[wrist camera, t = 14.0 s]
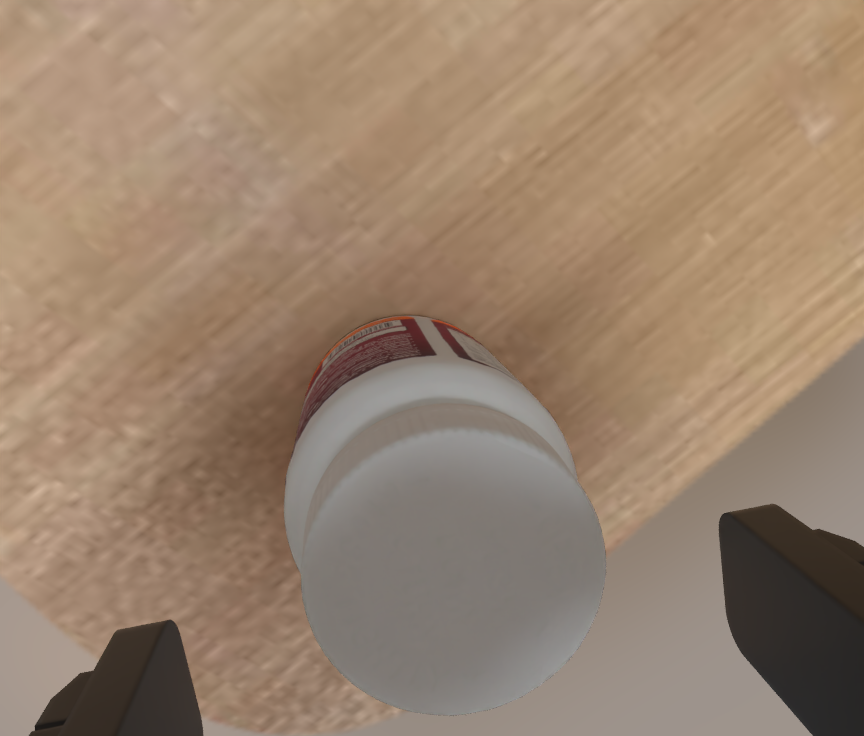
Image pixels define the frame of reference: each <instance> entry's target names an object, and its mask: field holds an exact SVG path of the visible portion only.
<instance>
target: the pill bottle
mask: <svg viewBox="0 0 864 736" xmlns="http://www.w3.org/2000/svg"><path fill="white" fill-rule="evenodd" d="M284 519H285V527H286V534H287V539H288V543H289V546H290V549H291V552H292V555H293V558H294V561H295V563H296V565H297V567H298V569H299V571H300V574H301V590H302V598H303V603H304V608H305V612H306V615H307V618H308V621H309V623H310V626H311V628H312V631H313V634H314V636H315V638H316V640H317V642H318V644H319V645H320V647H321V649H322V650H323V652H324V654H325V655H326V656H327V657H328V659H329V660H330V662H331V663H332V664H333V665H334V666H335V667H336V668H337V670H338V671H339V672H340V673H341V674H342V675H343V676H344V677H345V678H346V679H348V680H349V681H350V682H351V683H352V684H353V685H355V686H356V687H357V688H359V689H360V690H362V691H363V692H365V693H367V694H368V695H370V696H372V697H374V698H375V699H377V700H379V701H381V702H384V703H386V704H388V705H391V706H394V707H396V708H399V709H403V710H407V711H411V712H415V713H422V714H430V715H450V716H452V715H453V716H454V715H464V714H471V713H476V712H480V711H486V710H490V709H494V708H497V707H499V706H502V705H504V704H507V703H509V702H511V701H513V700H516V699H518V698H521V697H523V696H524V695H526V694H527V693H529V692H530V691H532V690H534V689H535V688H537V687H538V686H540V685H541V684H542V683H544V682H545V681H547V680H548V679H549V678H551V677H552V676H553V675H554V674H555V673H556V672H557V671H558V670H559V669H561V668H562V667H563V666H564V665H565V664H566V663H567V661H568V660H569V659H570V658H571V657H572V655H573V654H574V653H575V652H576V650H577V649H578V648H579V646H580V645H581V643H582V641H583V640H584V638H585V636H586V635H587V633H588V631H589V629H590V627H591V625H592V623H593V621H594V618H595V616H596V614H597V611H598V608H599V605H600V602H601V598H602V593H603V589H604V583H605V576H606V554H605V546H604V540H603V535H602V530H601V527H600V523H599V520H598V517H597V514H596V512H595V510H594V508H593V505H592V504H591V502H590V500H589V498H588V497H587V495H586V493H585V491H584V490H583V488H582V487H581V485H580V484H579V482H578V479H577V473H576V469H575V464H574V461H573V458H572V454H571V452H570V449H569V447H568V444H567V442H566V440H565V437H564V435H563V434H562V432H561V430H560V429H559V427H558V425H557V424H556V422H555V420H554V419H553V417H552V416H551V414H550V412H549V411H548V410H547V409H546V408H545V407H544V406H543V405H542V404H541V403H540V402H539V401H538V400H537V399H536V398H535V397H534V395H533V394H532V393H531V392H530V391H529V390H528V389H527V388H526V387H525V386H524V385H523V384H522V383H521V382H520V381H519V380H517V379H516V378H515V377H514V376H513V375H512V374H511V373H510V372H509V371H508V370H507V369H506V368H505V367H504V366H503V365H502V364H501V363H500V362H499V361H498V360H497V359H496V358H495V357H494V356H493V355H492V354H491V353H490V352H489V351H488V350H487V349H486V348H485V347H484V346H483V345H481V344H480V343H479V342H478V341H476V340H475V339H474V338H473V337H471V336H470V335H468V334H467V333H465V332H464V331H462V330H460V329H459V328H457V327H455V326H453V325H451V324H448V323H446V322H443V321H440V320H437V319H433V318H428V317H422V316H412V315H409V316H393V317H387V318H383V319H380V320H376V321H373V322H370V323H368V324H366V325H363V326H361V327H359V328H358V329H356V330H354V331H352V332H351V333H349V334H348V335H346V336H345V337H344V338H342V339H341V340H340V341H339V342H338V343H337V344H335V346H334V347H333V348H332V349H331V350H330V351H329V352H328V353H327V354H326V356H325V357H324V358H323V360H322V361H321V362H320V364H319V366H318V367H317V369H316V371H315V373H314V375H313V377H312V379H311V381H310V383H309V386H308V389H307V392H306V395H305V400H304V404H303V408H302V412H301V416H300V421H299V426H298V430H297V436H296V440H295V444H294V448H293V452H292V455H291V460H290V463H289V467H288V471H287V474H286V481H285V496H284Z"/></svg>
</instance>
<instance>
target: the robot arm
mask: <svg viewBox="0 0 864 736" xmlns="http://www.w3.org/2000/svg"><path fill="white" fill-rule="evenodd" d="M719 538H720V550H721V562H722V572H723V584H724V595H725V607H726V615H727V620H728V623H729V627H730V630H731V633H732V636H733V638H734V640H735V642H736V644H737V646H738V648H739V650H740V651H741V653H742V654H743V655H744V657H745V658H746V659H747V660H748V661H749V662H750V664H751V665H752V666H753V667H754V668H755V669H756V670H757V672H758V673H759V674H760V675H761V676H762V677H763V679H764V680H765V681H766V682H767V683H768V684H769V685H770V687H771V688H772V689H773V690H774V691H775V692H776V694H777V695H778V696H779V697H780V698H781V699H782V700H783V702H784V703H785V704H786V705H787V706H788V707H789V708H790V709H791V711H792V712H793V713H794V714H795V715H796V717H797V718H798V719H799V720H800V721H801V722H802V723H803V725H804V726H805V727H806V728H807V729H808V730H809V732H810V733H811V734H812V735H813V736H864V547H863V546H861V545H859V544H858V543H857V542H855V541H853V540H850V539H847V538H844V537H841V536H838V535H835V534H832V533H829V532H826V531H823V530H820V529H817V530H812V529H810V528H809V527H808V526H806V525H805V524H803V523H802V522H800V521H799V520H798V519H796V518H795V517H793V516H792V515H791V514H789V513H788V512H786V511H785V510H783V509H782V508H781V507H779V506H777V505H775V504H770V505H764V506H759V507H754V508H749V509H744V510H739V511H733V512H728V513H724V514H723V515H722V516H721V518H720V521H719ZM29 736H203V727H202V720H201V715H200V711H199V707H198V703H197V699H196V695H195V691H194V687H193V683H192V679H191V675H190V671H189V667H188V663H187V659H186V655H185V651H184V648H183V644H182V640H181V636H180V633H179V630H178V628H177V626H176V624H175V623H174V622H173V621H172V620H166V621H161V622H156V623H151V624H146V625H141V626H135V627H130V628H125V629H120V630H117V631H116V632H115V633H114V635H113V636H112V638H111V640H110V642H109V644H108V645H107V647H106V649H105V651H104V653H103V654H102V656H101V658H100V660H99V662H98V663H97V665H96V667H95V669H94V671H89V672H84V673H80V674H79V675H78V676H77V677H76V678H75V679H73V680H72V681H71V682H70V683H69V684H68V685H67V686H65V688H63V689H62V690H61V691H60V692H59V693H58V694H56V695H55V696H54V697H53V698H52V699H51V700H50V702H49V704H48V705H47V707H46V709H45V710H44V712H43V713H42V715H41V717H40V719H39V720H38V722H37V723H36V725H35V731H32V732H31V733H30V735H29Z"/></svg>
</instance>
